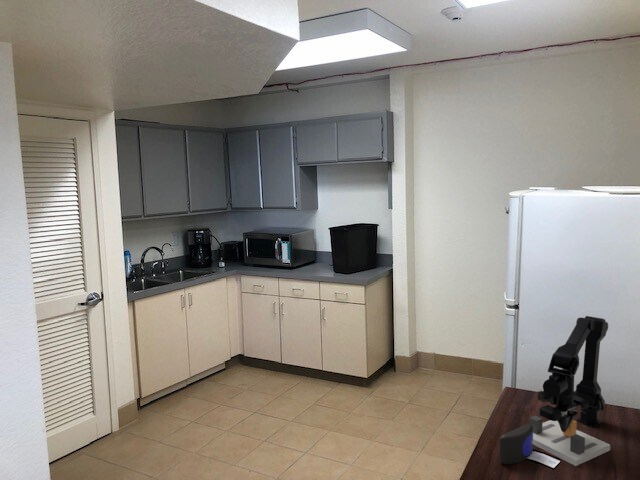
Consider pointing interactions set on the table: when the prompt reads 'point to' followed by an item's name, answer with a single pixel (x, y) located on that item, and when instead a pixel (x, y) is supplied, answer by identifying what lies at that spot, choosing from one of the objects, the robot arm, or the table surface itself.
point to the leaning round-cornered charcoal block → (516, 445)
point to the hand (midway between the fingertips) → (563, 431)
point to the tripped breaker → (571, 429)
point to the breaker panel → (566, 442)
